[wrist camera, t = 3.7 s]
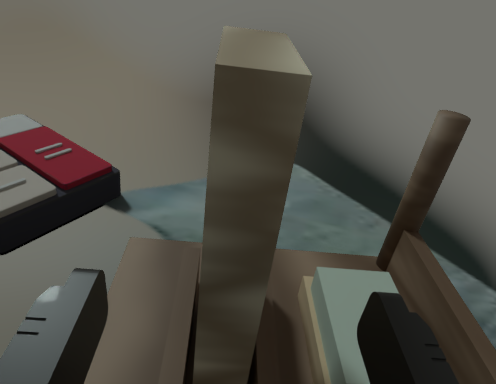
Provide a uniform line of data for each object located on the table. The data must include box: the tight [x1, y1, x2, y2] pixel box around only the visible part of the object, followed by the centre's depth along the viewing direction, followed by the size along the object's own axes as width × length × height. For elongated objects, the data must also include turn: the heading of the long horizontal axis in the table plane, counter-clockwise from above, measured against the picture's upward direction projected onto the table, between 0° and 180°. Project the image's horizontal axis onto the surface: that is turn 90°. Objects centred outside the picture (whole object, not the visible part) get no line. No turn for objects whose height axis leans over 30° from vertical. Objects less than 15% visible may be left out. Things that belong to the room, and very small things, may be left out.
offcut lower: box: [298, 276, 331, 384], centre depth 20 cm, size 5×9×2 cm, turn 1°
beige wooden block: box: [193, 26, 312, 384], centre depth 16 cm, size 2×6×16 cm, turn 1°
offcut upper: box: [310, 267, 399, 384], centre depth 19 cm, size 4×7×2 cm, turn 1°
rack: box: [84, 110, 496, 384], centre depth 17 cm, size 20×18×14 cm
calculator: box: [0, 114, 121, 255], centre depth 32 cm, size 11×4×15 cm
